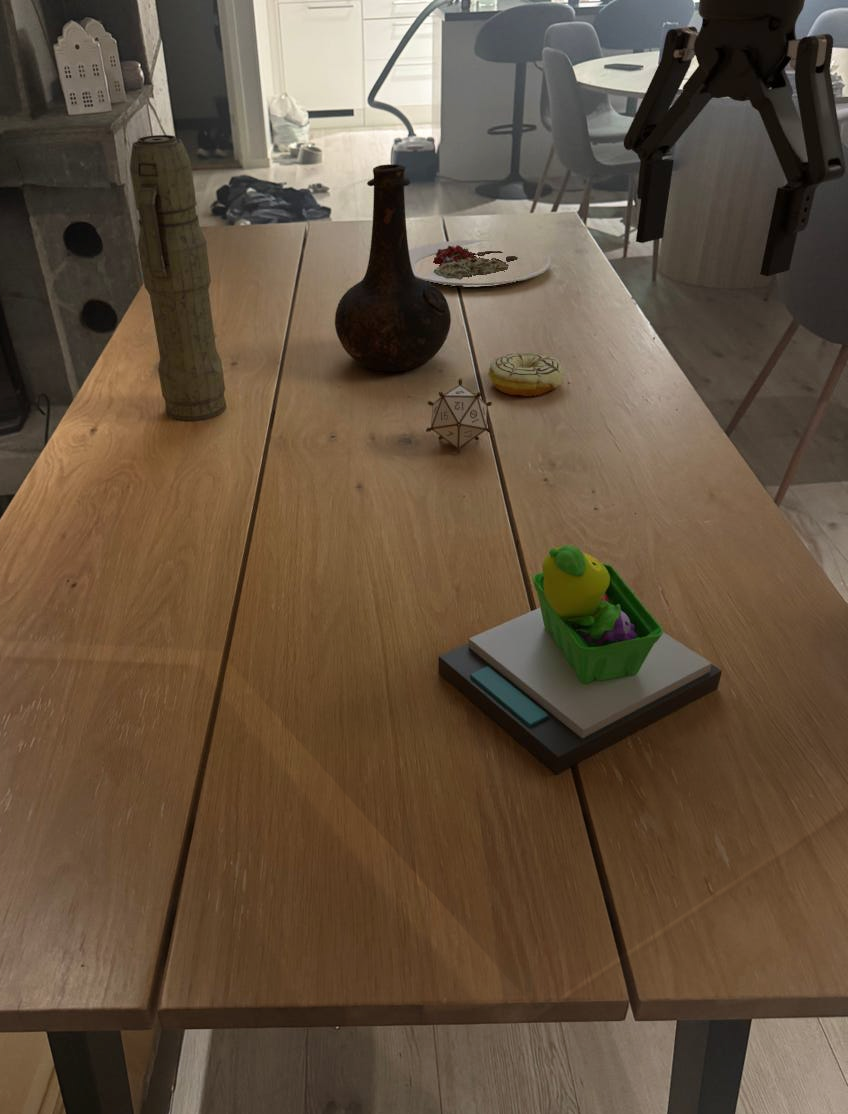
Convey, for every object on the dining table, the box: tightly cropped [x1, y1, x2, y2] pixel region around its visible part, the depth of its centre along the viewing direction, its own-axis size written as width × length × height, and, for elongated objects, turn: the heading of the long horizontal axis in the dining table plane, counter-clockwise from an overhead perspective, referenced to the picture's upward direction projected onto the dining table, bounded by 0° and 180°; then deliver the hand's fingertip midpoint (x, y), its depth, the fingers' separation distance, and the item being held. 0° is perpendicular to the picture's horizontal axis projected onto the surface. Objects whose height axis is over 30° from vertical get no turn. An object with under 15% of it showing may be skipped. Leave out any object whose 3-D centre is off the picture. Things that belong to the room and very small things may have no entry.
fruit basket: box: [532, 544, 664, 684], centre depth 82 cm, size 11×9×11 cm
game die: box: [425, 377, 493, 456], centre depth 124 cm, size 9×8×10 cm
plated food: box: [409, 239, 552, 286], centre depth 187 cm, size 30×30×3 cm
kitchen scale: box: [437, 606, 723, 776], centre depth 85 cm, size 16×19×3 cm
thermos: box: [129, 134, 227, 421], centre depth 128 cm, size 9×12×35 cm
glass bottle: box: [334, 163, 452, 373], centre depth 142 cm, size 18×18×28 cm
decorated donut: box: [488, 352, 565, 397], centre depth 140 cm, size 10×11×4 cm
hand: (708, 255), depth 83 cm, fingers open, 13 cm apart
